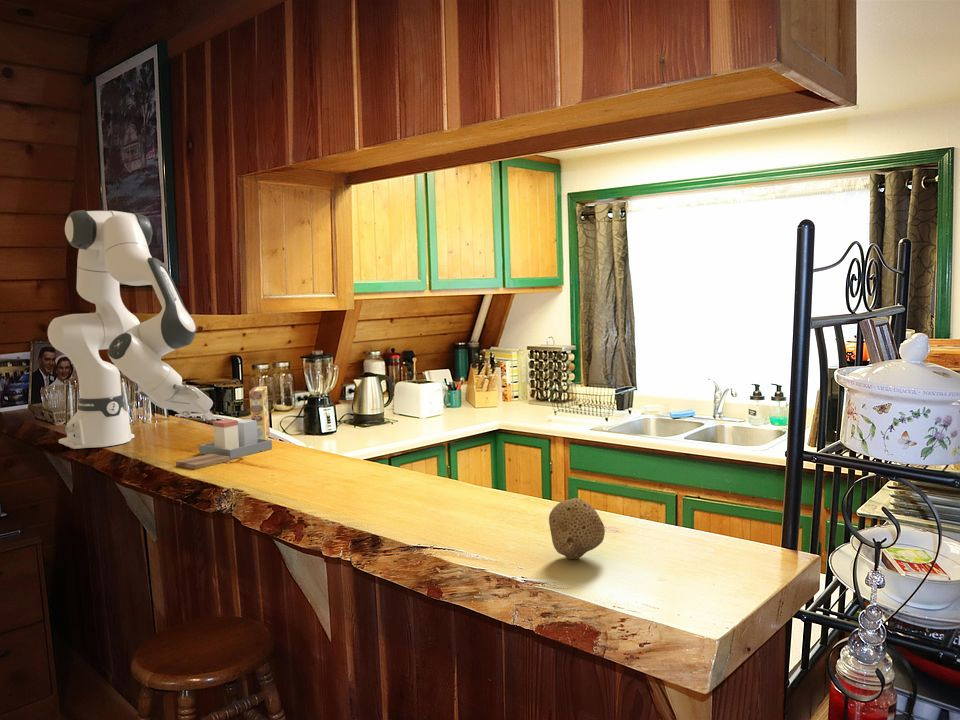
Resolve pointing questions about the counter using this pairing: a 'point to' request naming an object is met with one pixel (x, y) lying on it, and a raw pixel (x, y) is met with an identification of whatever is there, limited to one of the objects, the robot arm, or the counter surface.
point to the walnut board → (202, 461)
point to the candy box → (260, 411)
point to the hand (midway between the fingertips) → (199, 416)
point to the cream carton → (226, 434)
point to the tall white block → (247, 432)
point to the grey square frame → (236, 449)
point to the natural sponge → (575, 528)
